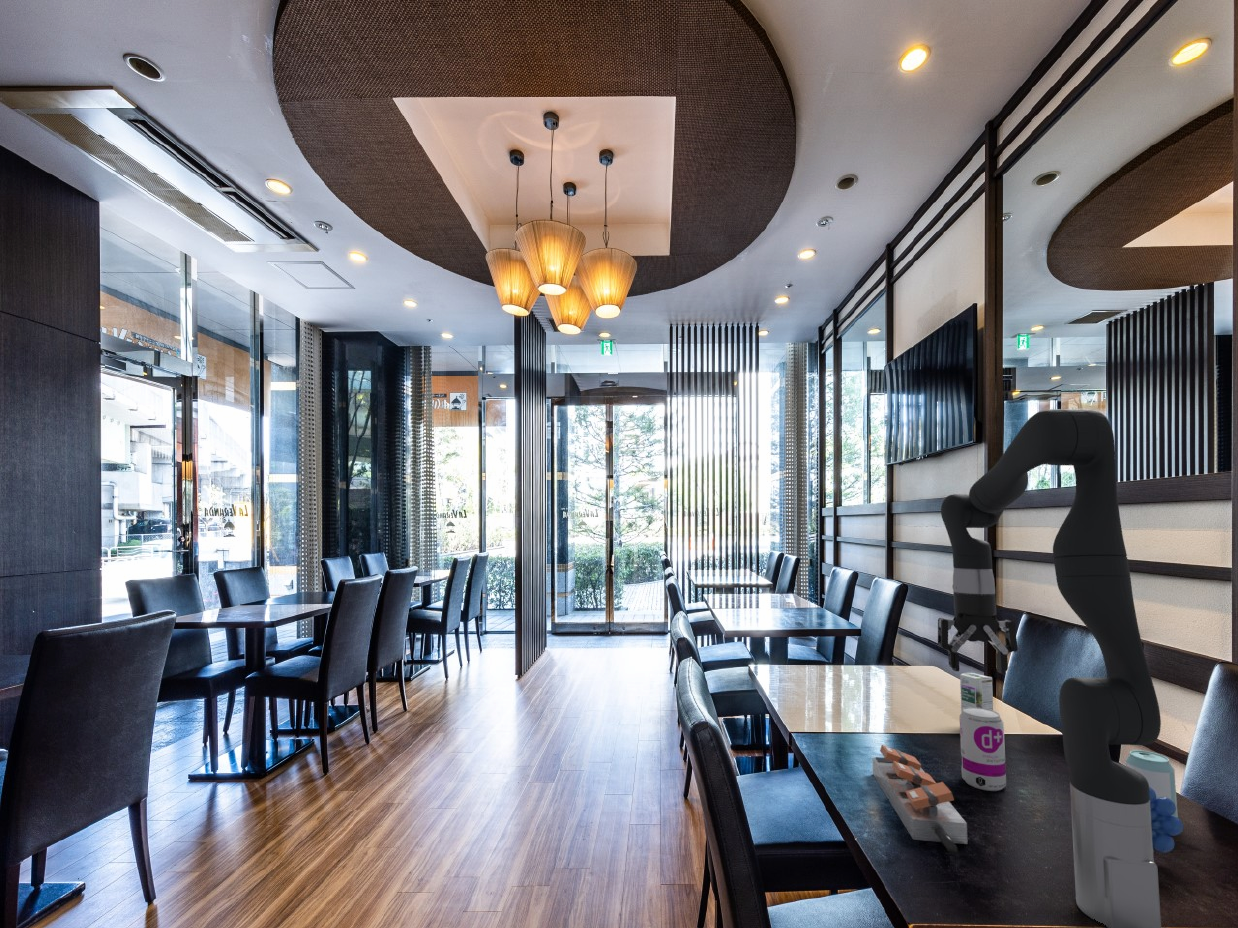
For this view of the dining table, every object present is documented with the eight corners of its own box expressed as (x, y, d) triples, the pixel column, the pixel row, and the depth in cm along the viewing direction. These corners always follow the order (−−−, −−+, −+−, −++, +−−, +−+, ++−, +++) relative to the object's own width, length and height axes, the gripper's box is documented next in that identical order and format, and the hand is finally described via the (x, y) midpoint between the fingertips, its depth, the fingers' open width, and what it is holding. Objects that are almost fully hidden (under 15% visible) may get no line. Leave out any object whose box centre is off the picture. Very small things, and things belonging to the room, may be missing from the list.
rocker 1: (919, 772, 128) (921, 764, 128) (885, 759, 130) (887, 751, 130) (912, 763, 133) (914, 755, 133) (879, 751, 134) (882, 743, 134)
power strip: (982, 862, 101) (981, 834, 102) (924, 857, 103) (923, 829, 103) (915, 776, 135) (914, 755, 135) (872, 773, 136) (872, 752, 137)
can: (1120, 815, 118) (1116, 751, 119) (1143, 809, 121) (1139, 746, 122) (1163, 832, 112) (1159, 764, 113) (1187, 826, 114) (1182, 759, 115)
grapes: (1176, 854, 104) (1172, 781, 105) (1191, 875, 98) (1185, 797, 99) (1092, 837, 110) (1088, 768, 111) (1100, 855, 104) (1096, 782, 105)
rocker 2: (934, 791, 120) (936, 782, 120) (897, 777, 121) (900, 768, 121) (926, 781, 124) (929, 773, 124) (891, 768, 125) (894, 759, 125)
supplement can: (1013, 793, 127) (1009, 719, 128) (969, 790, 129) (966, 716, 130) (997, 777, 135) (994, 707, 136) (956, 774, 137) (954, 705, 138)
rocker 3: (954, 801, 111) (951, 790, 111) (916, 810, 112) (912, 800, 112) (945, 790, 115) (942, 780, 115) (908, 799, 116) (905, 789, 116)
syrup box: (960, 728, 167) (958, 673, 168) (975, 725, 169) (972, 671, 170) (980, 735, 162) (978, 678, 163) (995, 731, 164) (992, 676, 165)
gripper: (943, 591, 124) (947, 674, 122) (1020, 593, 122) (1025, 677, 120) (930, 588, 131) (934, 666, 129) (1003, 590, 129) (1008, 669, 127)
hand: (978, 671), depth 125 cm, fingers open, 8 cm apart
